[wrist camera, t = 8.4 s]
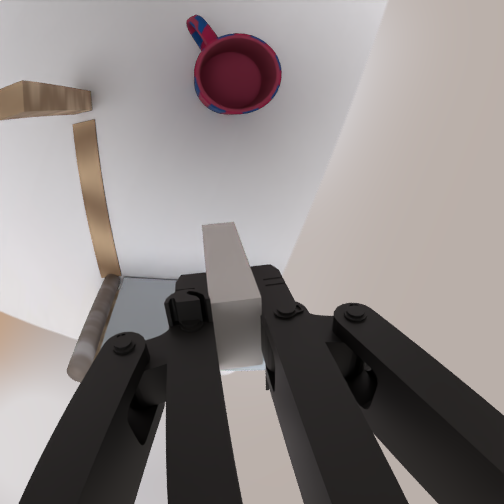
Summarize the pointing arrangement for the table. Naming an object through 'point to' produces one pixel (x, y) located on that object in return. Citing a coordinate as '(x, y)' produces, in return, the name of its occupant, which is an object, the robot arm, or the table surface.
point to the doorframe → (69, 103)
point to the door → (146, 311)
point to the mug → (233, 70)
